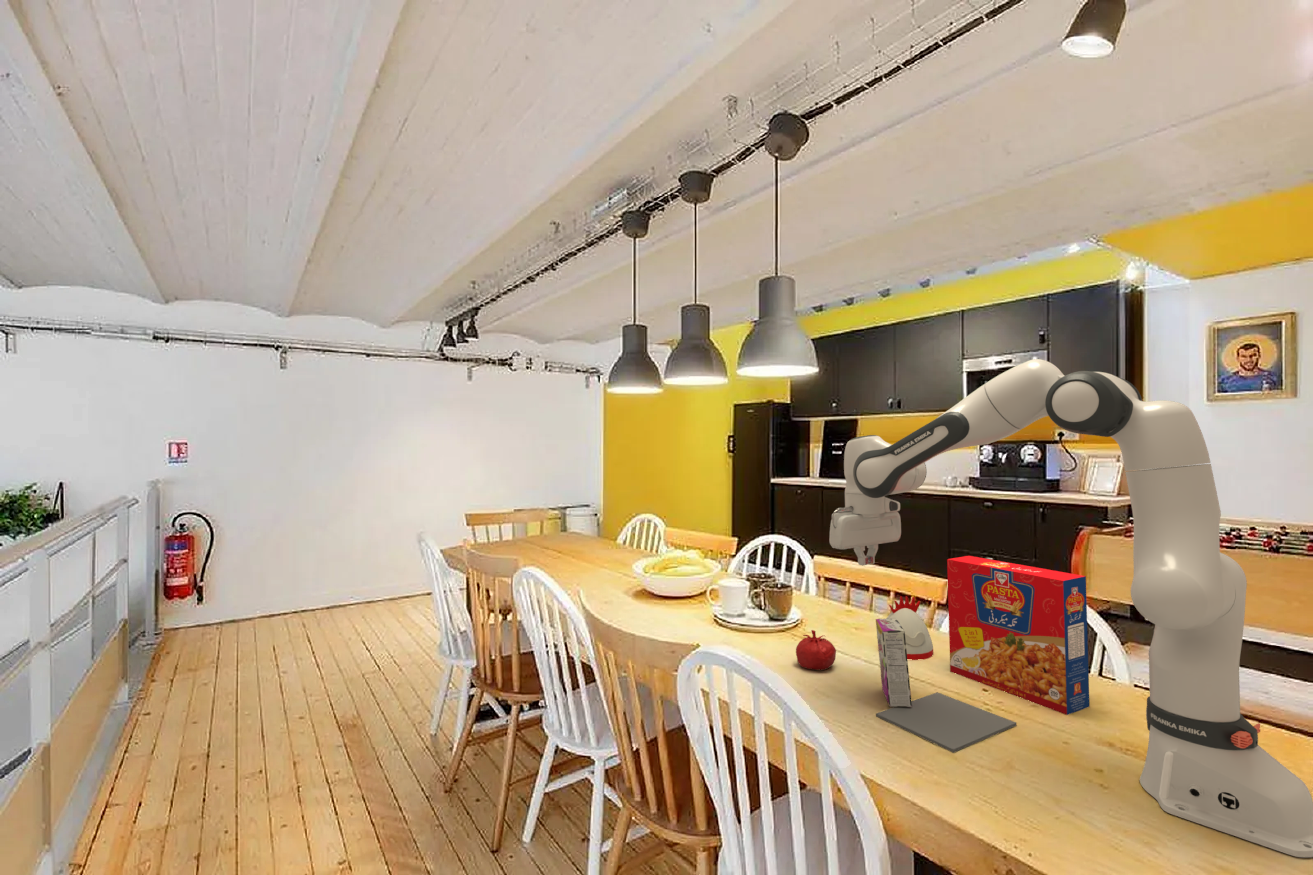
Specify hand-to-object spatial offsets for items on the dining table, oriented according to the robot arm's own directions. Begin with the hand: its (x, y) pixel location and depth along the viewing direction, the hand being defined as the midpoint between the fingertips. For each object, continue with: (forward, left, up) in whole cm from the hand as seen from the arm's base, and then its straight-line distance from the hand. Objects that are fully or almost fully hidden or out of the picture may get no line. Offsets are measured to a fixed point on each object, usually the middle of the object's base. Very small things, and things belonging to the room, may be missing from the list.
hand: (866, 564), depth 145 cm
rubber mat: (-19, 0, -29) cm, 35 cm away
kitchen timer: (+13, -28, -29) cm, 43 cm away
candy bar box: (-7, 0, -29) cm, 30 cm away
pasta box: (-17, -28, -29) cm, 44 cm away
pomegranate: (+18, 0, -29) cm, 34 cm away
